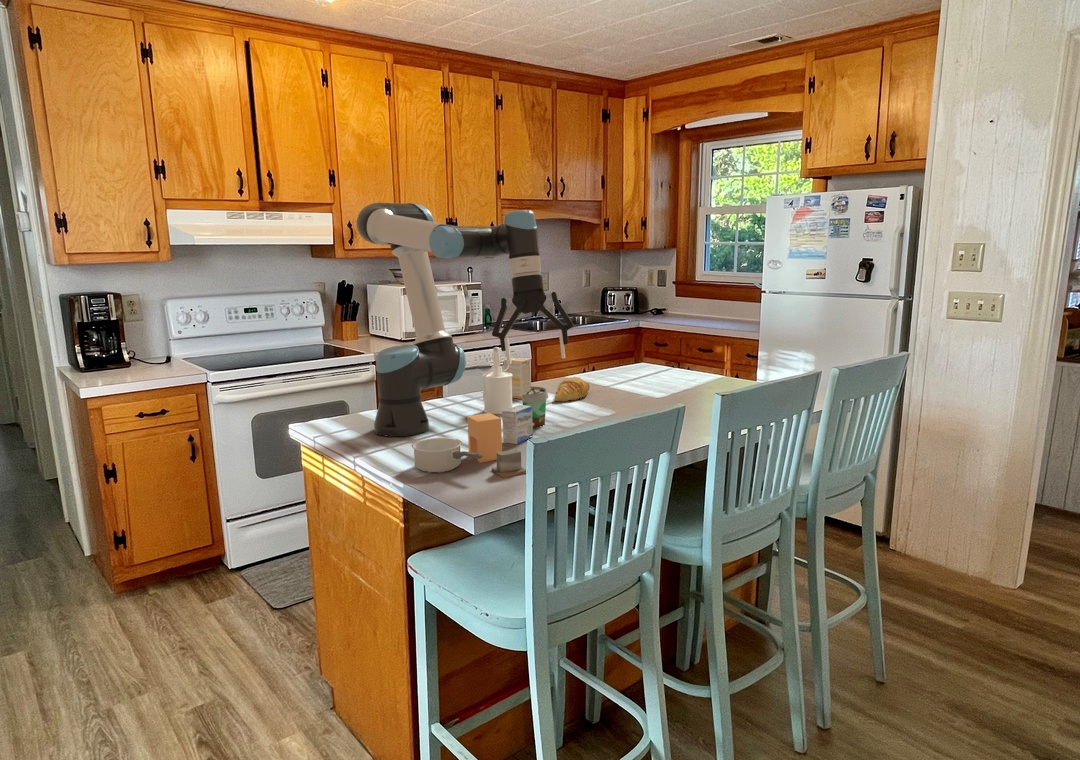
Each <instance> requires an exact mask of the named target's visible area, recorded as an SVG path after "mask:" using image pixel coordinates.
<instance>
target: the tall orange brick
mask: <svg viewBox="0 0 1080 760" xmlns="http://www.w3.org/2000/svg"><path fill="white" fill-rule="evenodd" d="M466 419H467V421H466V422H467V439H468V440H467V441H468V452H472V453H477V454H482V456H483V457H482V458H476V459H477V462H478V463H485V462H491V461H495V460H496V461H497V456H496V453H497V452H503V429H502V418H501V417H499V416H497V415H495V414H491V413H480V414H479V413H478V414H473V415H467V418H466Z"/></svg>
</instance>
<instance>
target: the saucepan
mask: <svg viewBox="0 0 1080 760" xmlns="http://www.w3.org/2000/svg"><path fill="white" fill-rule="evenodd" d="M462 443H463V442H462V441H461V440H459V439H458V438H452V437H432V438H431V437H430V438H425V439H421V440H418V441H415V442H414V443H413V444H411V447H412V449H413V455H414V457H413V458H414V467H415V468H416V469H417V470H418V469H419V470H421V471H422V470H424V471H423V472H425V471H428V472H427V473H431V472H438V473H445V471H446V472H449V471H453V469H455V468H457V467H458V466H460V465H461V464H462V458H463V457H470V458H475V459H477V458H482V457H483V456H482V454H477V453H472V452H469V451H465V450H462V451H461V446H462V445H463V444H462Z"/></svg>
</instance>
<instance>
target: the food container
mask: <svg viewBox="0 0 1080 760" xmlns="http://www.w3.org/2000/svg"><path fill="white" fill-rule="evenodd" d="M547 399H549V392H548V390H547V389H546V388H545V387H541V386H532V385H531V390H530V391H529V392H527V393H526V395H524V394H522V399H521V402H522V405H526V406H531V407H532V424H533V429H536V428H535V427H539V428H541V427H540V426H542V427H543V425H544V426H545V425H546V409H547V408H546V407H547Z"/></svg>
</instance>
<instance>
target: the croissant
mask: <svg viewBox="0 0 1080 760" xmlns="http://www.w3.org/2000/svg"><path fill="white" fill-rule="evenodd" d="M589 390H590V384H589V382H586V380H584V379H581V377H576V376H573V377H569V378H567V379H563V380H562V381H561V382H560V383H559V384H558V388H557V391H555V395H554V400H555V401H556V402H569V401H568V400H571V401H576V400H575V399H579V398H580V399H579V400H581V399H583V398H585V397H586V396H587V394H588V392H589ZM582 397H583V398H582Z"/></svg>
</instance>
